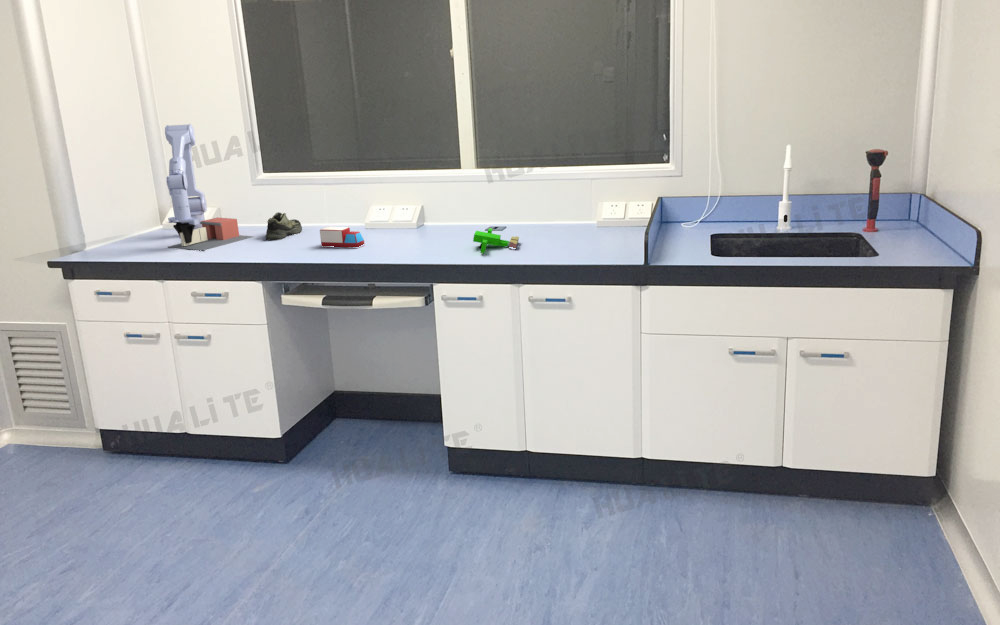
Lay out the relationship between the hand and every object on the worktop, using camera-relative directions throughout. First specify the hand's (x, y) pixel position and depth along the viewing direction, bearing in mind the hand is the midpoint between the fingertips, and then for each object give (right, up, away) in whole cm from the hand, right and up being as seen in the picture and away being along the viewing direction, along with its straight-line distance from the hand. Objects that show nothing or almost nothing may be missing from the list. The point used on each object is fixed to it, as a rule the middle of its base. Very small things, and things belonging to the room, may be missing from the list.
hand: (187, 242), depth 308 cm
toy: (+117, -4, -26) cm, 120 cm away
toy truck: (+61, -3, -12) cm, 62 cm away
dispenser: (+8, +3, +14) cm, 17 cm away
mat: (+7, +1, +6) cm, 10 cm away
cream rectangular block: (+2, 0, +3) cm, 4 cm away
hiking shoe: (+33, +4, +14) cm, 36 cm away
